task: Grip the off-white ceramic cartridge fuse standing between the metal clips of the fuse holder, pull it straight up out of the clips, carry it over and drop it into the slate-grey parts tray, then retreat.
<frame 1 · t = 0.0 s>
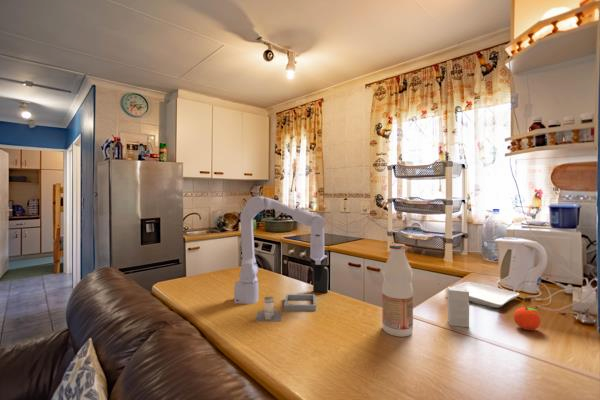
hand: (317, 278, 119), 10 cm above the countertop, tool pointing down, fingers open, 7 cm apart
parts tray: (300, 306, 116), on the countertop
salad plate: (482, 299, 124), on the countertop
fuse holder: (269, 318, 105), on the countertop
fruit juice: (397, 331, 95), on the countertop
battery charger: (320, 291, 133), on the countertop
red tomato: (528, 329, 95), on the countertop
skincare box: (457, 324, 99), on the countertop
fuse: (269, 315, 105), point 1 cm above the countertop, touching fuse holder
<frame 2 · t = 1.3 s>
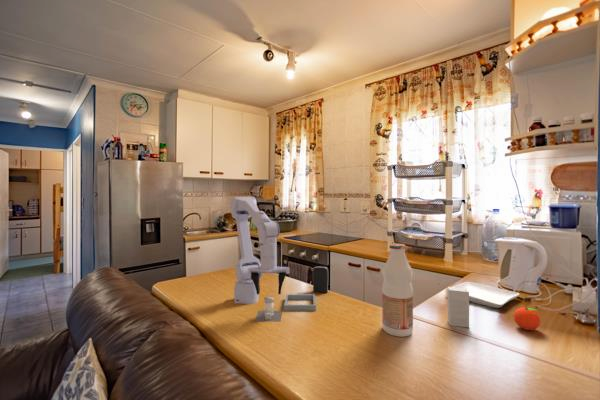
hand: (268, 293, 105), 9 cm above the countertop, tool pointing down, fingers open, 7 cm apart
nothing on the countertop moved.
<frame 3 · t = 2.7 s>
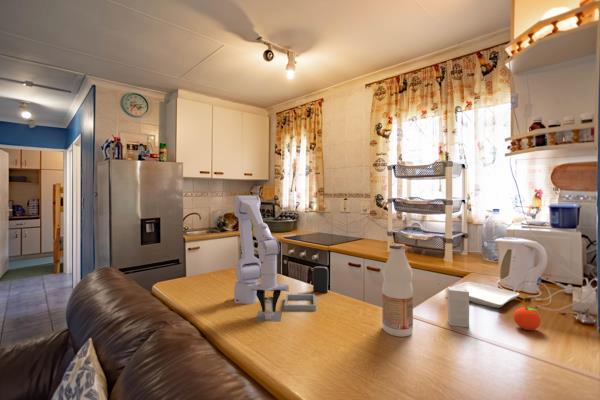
hand: (269, 310, 105), 3 cm above the countertop, tool pointing down, fingers closed on fuse, 3 cm apart
fuse: (269, 315, 105), point 1 cm above the countertop, touching fuse holder, gripper
everything else where it was.
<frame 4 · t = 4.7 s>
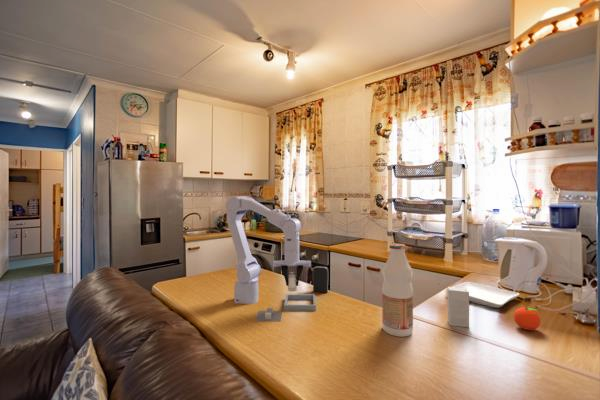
hand: (292, 285, 112), 9 cm above the countertop, tool pointing down, fingers closed on fuse, 3 cm apart
fuse: (292, 289, 112), point 8 cm above the countertop, touching gripper
everything else where it was.
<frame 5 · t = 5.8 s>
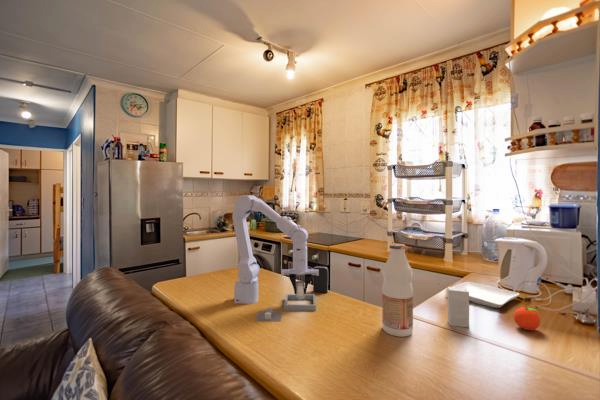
hand: (300, 293, 116), 5 cm above the countertop, tool pointing down, fingers closed on fuse, 3 cm apart
fuse: (300, 297, 115), point 3 cm above the countertop, touching gripper
everything else where it was.
when the fingers open (4 cm above the countertop, at t = 6.8 s): fuse drops 2 cm, resting on parts tray.
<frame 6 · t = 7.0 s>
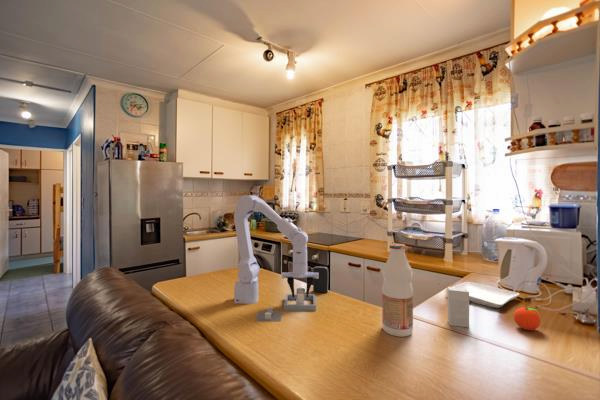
hand: (300, 296, 116), 4 cm above the countertop, tool pointing down, fingers open, 5 cm apart
fuse: (300, 305, 115), point 1 cm above the countertop, touching parts tray
everything else where it was.
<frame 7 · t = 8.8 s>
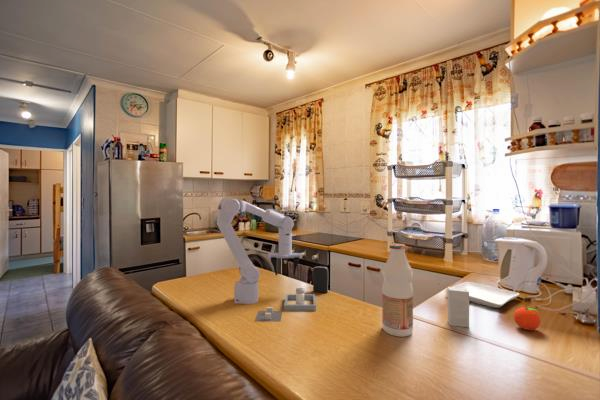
hand: (285, 274, 127), 9 cm above the countertop, tool pointing down, fingers open, 7 cm apart
nothing on the countertop moved.
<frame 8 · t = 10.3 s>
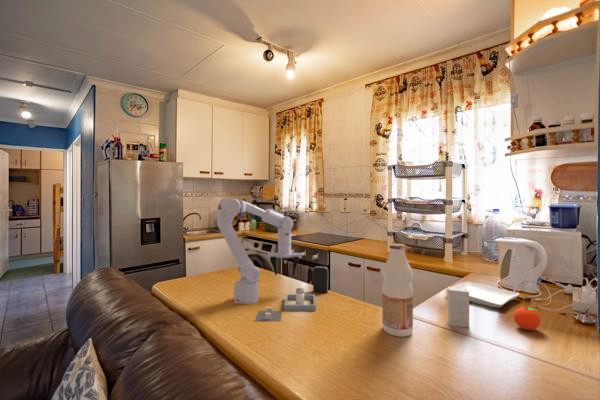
hand: (284, 274, 128), 9 cm above the countertop, tool pointing down, fingers open, 7 cm apart
nothing on the countertop moved.
at the end: fuse inside the target area on the parts tray (0.2 cm from its centre), point 0.5 cm above the parts tray's base; the gripper is holding nothing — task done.
